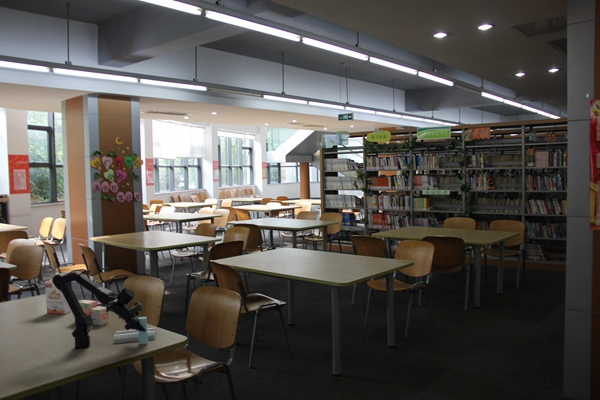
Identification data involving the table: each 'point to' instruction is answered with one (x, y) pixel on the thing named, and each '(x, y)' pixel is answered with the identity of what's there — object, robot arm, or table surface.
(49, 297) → the cracker box
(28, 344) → the table surface
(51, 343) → the table surface
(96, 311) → the stack of blocks
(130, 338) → the floor track
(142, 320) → the pale teal block
